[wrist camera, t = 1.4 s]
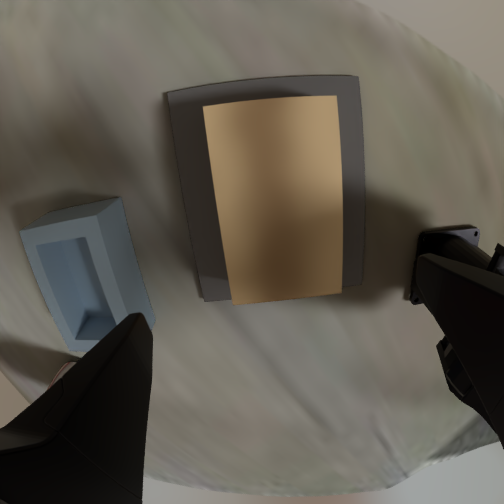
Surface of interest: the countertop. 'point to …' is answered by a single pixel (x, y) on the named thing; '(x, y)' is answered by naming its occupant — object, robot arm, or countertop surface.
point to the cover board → (278, 196)
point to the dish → (86, 270)
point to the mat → (201, 181)
